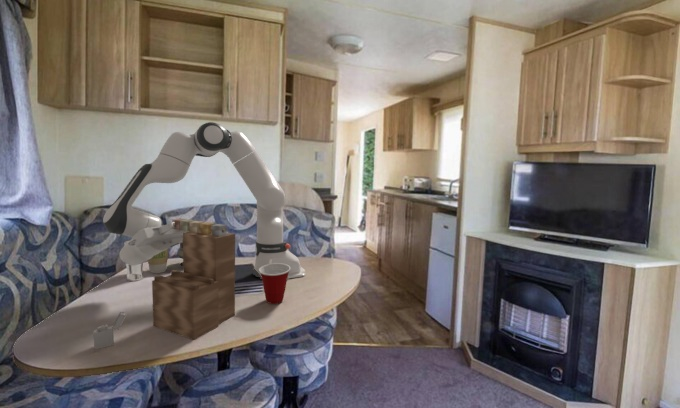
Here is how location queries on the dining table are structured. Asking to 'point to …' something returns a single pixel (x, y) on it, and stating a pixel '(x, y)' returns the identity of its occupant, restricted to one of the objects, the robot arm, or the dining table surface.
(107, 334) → the lighter
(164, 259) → the coffee cup
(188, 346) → the dining table surface
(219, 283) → the walnut display stand
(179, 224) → the bead bar
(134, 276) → the beer glass
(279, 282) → the plastic cup
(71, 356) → the dining table surface
